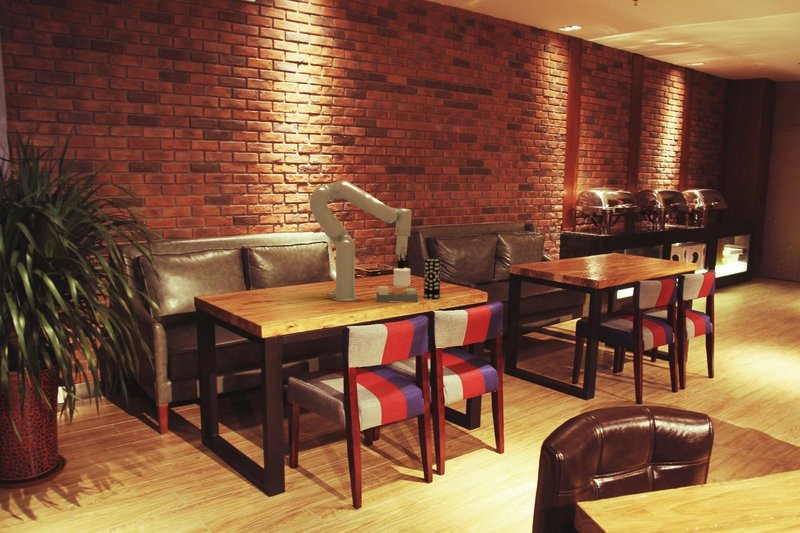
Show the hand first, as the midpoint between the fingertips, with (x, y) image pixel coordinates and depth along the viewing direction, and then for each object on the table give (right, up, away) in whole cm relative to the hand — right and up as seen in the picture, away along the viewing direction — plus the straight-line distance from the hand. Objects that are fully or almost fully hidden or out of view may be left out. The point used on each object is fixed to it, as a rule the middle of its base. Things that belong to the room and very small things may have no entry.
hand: (400, 268), depth 331 cm
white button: (-9, -15, -3) cm, 17 cm away
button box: (-2, -16, -2) cm, 17 cm away
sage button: (+5, -16, -2) cm, 17 cm away
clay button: (-2, -14, -3) cm, 15 cm away
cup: (+1, -10, +38) cm, 39 cm away
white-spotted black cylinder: (+16, -16, +6) cm, 23 cm away
